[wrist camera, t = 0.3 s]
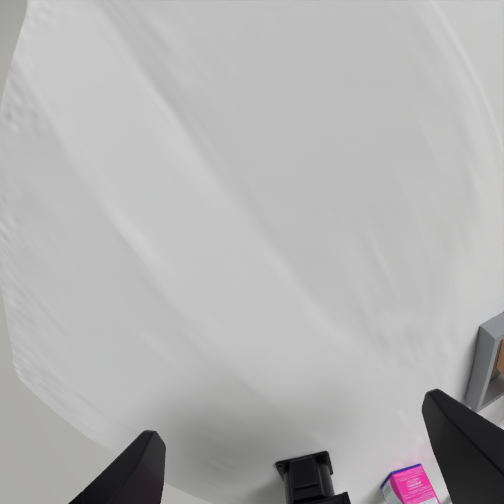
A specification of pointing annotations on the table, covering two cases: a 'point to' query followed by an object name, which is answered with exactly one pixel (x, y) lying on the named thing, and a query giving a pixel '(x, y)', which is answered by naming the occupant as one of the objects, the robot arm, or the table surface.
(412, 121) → the table surface
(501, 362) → the peach rectangular block
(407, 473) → the supplement box
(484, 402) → the charcoal open box
